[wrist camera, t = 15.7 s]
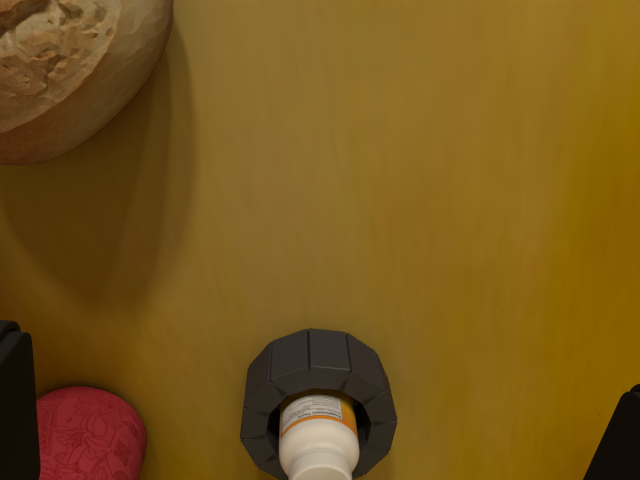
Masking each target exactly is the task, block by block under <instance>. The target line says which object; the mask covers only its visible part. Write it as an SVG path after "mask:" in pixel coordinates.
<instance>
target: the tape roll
mask: <svg viewBox="0 0 640 480" xmlns="http://www.w3.org/2000/svg"><path fill="white" fill-rule="evenodd" d="M310 388H322V389H333V390H341V391H343V392H344V393H346V394H347V395H349V396H351V397H352V398H354V399H356V400H357V401H359V402H360V403H359V404H358V405H357V406H356V407H355V408H354V413H355V420H356V428H357V435H358V442H359V460H358V463H357V465H356V467H355V469H354V470H353V472H352V479H355V478H358V477H361V476H362V474H364V475H365V474H366V473H367V472H368V471H370V470H371V469H372V468H373V467H374V466H375V465H376V464H377V463H378V462H379V461H380V460H381V459H383V458H384V457H385V456H386V455H387V454H388V453H389V452H388V450H390V448H391V444H392V440H393V437H394V433H395V429H396V425H397V416H396V412H395V407H394V403H393V399H392V394H391V390H390V386H389V381H388V378H387V376H386V373H385V371H384V369H383V366H382V364H381V362H380V359H379V357H378V355H377V353H375V351H374V350H373V349H371V348H370V347H368V346H367V345H365V344H363V343H362V342H360V341H359V340H357V339H356V338H354V337H353V336H351V335H350V334H348V333H347V334H346V335H345V332H338V331H328V330H318V329H309V332H308V331H307V330H306V329H305V330H302V331H299V332H296V333H293V334H291V335H288V336H285V337H282V338H279V339H277V340H274V341H273V343H271V342H270V343H269V344H268V346H267V347H266V348H265V349H264V350H263V351H262V352H261V353H260V354H259V356H258V357H257V358H256V359H255V360H254V361H253V362H252V363H251V365H250V366H249V368H248V374H247V382H246V391H245V399H244V407H243V416H242V424H241V433H240V438H241V442H242V443H243V445H244V446H245V448H246V450H247V451H248V453H249V455H250V456H251V458H252V460H253V461H254V463H255V465H256V466H258V468H259V469H261V470H263V471H265V472H267V473H269V474H271V475H272V476H274V477H276V478H278V479H280V480H288V476H287V474H286V473H285V472H284V470H283V468H282V466H281V464H280V459H279V434H280V413H279V412H278V411H277V409H276V407H277V406H278V405H279V404H280V403H281V401H282V400H283V399H284V398H285V397H286V396H289V395H292V394H295V393H298V392H301V391H304V390H307V389H310Z"/></svg>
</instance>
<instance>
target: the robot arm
mask: <svg viewBox="0 0 640 480" xmlns="http://www.w3.org/2000/svg"><path fill="white" fill-rule="evenodd" d="M40 471H41V461H40V447H39V433H38V418H37V404H36V390H35V376H34V361H33V347H32V338H31V335H30V334H29V333H27V332H21V330H20V327H19V325H18V323H17V322H15V321H7V320H0V480H39V477H40ZM583 480H640V384H637V385H635V386H634V387H632V389H631V390H630V392H626V393H624V394H623V395H622V397H621V398H620V400H619V402H618V404H617V407H616V409H615V411H614V413H613V415H612V418H611V420H610V422H609V424H608V426H607V428H606V431H605V433H604V435H603V437H602V439H601V442H600V444H599V446H598V448H597V450H596V453H595V455H594V457H593V459H592V461H591V463H590V466H589V468H588V470H587V472H586V474H585V477H584V479H583Z"/></svg>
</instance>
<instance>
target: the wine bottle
mask: <svg viewBox="0 0 640 480" xmlns="http://www.w3.org/2000/svg"><path fill="white" fill-rule="evenodd" d="M36 404H37V418H38V433H39V447H40V461H41V471H40V477H39V480H138V479H139V475H140V472H141V468H142V464H143V460H144V456H145V451H146V444H147V442H146V431H145V427H144V425H143V422H142V420H141V418H140V417H139V415H138V414H137V412H136V411H135V410H134V409H133V408H132V407H131V406H130V405H129V404H128V403H127V402H126V401H124V400H123V399H121V398H120V397H118V396H116V395H114V394H112V393H110V392H107V391H105V390H101V389H98V388H93V387H85V386H74V387H66V388H61V389H58V390H54V391H52V392H49V393H47V394H45V395H44V396H42V397H40V398H39V399H38V400H37V401H36Z"/></svg>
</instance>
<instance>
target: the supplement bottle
mask: <svg viewBox="0 0 640 480" xmlns="http://www.w3.org/2000/svg"><path fill="white" fill-rule="evenodd" d="M279 459H280V464H281V466H282V468H283V470H284V472H285V473H286V474H287V476H288V480H352V472H353V470H354V469H355V467H356V465H357V463H358V460H359V442H358V435H357V428H356V420H355V413H354V406H353V399H352V397H351V396H349V395H347V394H346V393H344V392H343V391H341V390H333V389H322V388H310V389H307V390H304V391H301V392H298V393H295V394H292V395H289V396H286V397H285V398H284V399H283V400H282V401H281V403H280V434H279Z"/></svg>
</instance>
